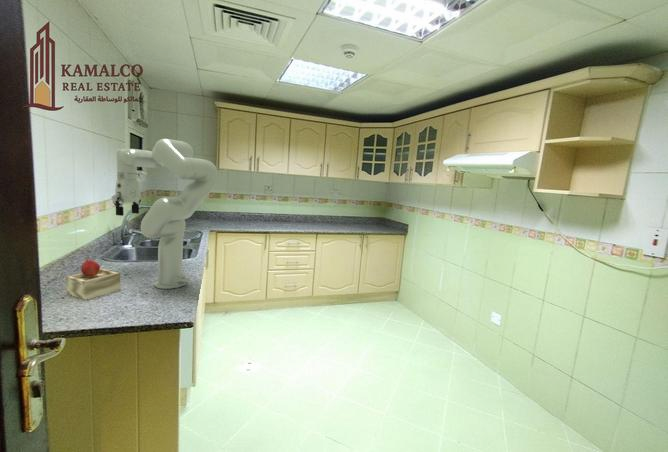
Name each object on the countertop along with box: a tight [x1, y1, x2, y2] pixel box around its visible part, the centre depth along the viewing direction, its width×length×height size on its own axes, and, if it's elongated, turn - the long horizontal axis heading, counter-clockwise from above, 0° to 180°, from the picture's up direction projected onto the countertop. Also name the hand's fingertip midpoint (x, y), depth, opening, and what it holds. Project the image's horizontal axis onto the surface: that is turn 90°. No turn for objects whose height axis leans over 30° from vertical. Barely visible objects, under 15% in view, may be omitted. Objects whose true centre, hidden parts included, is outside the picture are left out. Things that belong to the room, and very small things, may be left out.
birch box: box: [65, 268, 121, 301], centre depth 125 cm, size 11×13×8 cm
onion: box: [80, 258, 101, 277], centre depth 125 cm, size 6×6×8 cm
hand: (127, 214), depth 145 cm, fingers open, 9 cm apart
